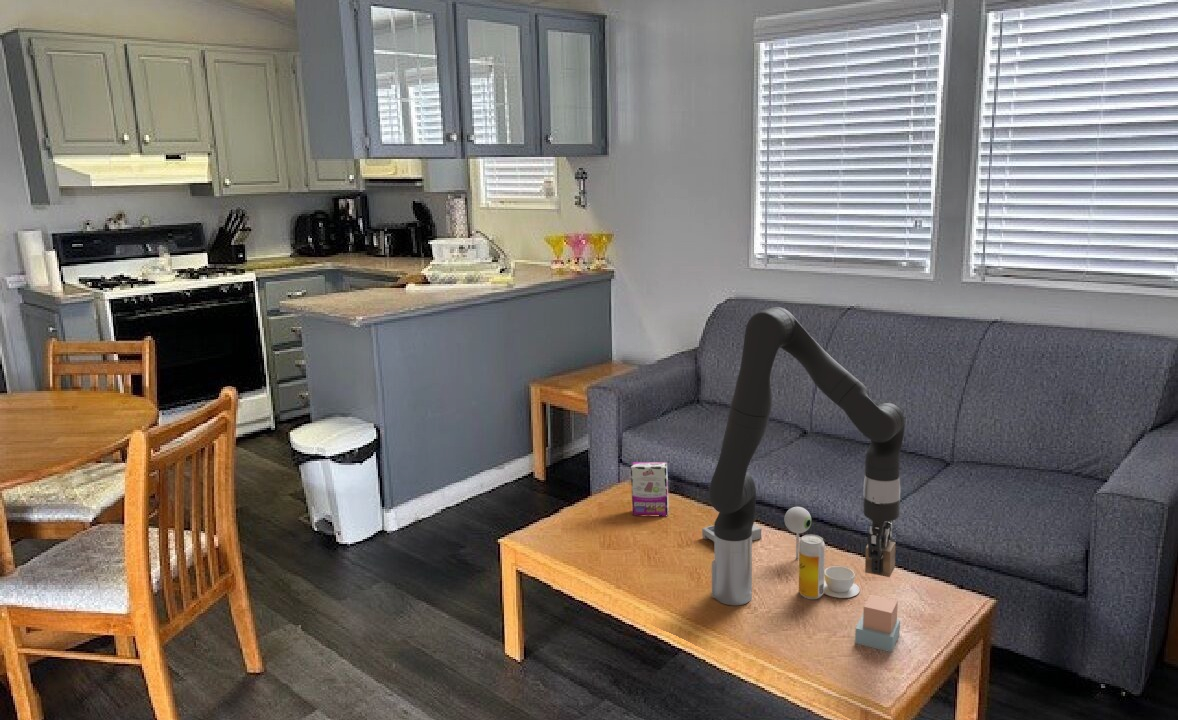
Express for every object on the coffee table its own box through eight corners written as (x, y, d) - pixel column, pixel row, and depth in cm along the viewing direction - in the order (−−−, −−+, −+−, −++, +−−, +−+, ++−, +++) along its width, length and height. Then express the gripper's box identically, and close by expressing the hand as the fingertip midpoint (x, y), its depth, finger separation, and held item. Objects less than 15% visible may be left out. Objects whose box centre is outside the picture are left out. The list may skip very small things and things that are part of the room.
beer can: (805, 585, 212) (805, 531, 209) (827, 592, 208) (828, 537, 205) (794, 595, 207) (795, 540, 204) (817, 602, 204) (818, 546, 200)
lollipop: (800, 567, 222) (801, 515, 218) (778, 558, 227) (779, 507, 224) (815, 558, 226) (817, 507, 223) (794, 550, 232) (794, 500, 228)
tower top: (862, 626, 186) (863, 606, 185) (869, 614, 191) (870, 594, 190) (890, 633, 183) (891, 613, 182) (896, 620, 188) (897, 600, 186)
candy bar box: (669, 510, 262) (667, 461, 258) (667, 517, 257) (666, 467, 253) (633, 509, 264) (632, 461, 260) (632, 516, 259) (630, 466, 255)
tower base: (855, 644, 186) (855, 628, 185) (863, 627, 193) (863, 611, 192) (892, 653, 182) (892, 637, 181) (899, 635, 189) (900, 619, 188)
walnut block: (865, 572, 182) (865, 547, 181) (870, 562, 187) (871, 538, 185) (889, 577, 180) (890, 551, 178) (894, 567, 184) (895, 542, 183)
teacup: (848, 603, 203) (848, 586, 202) (811, 591, 210) (811, 574, 209) (866, 588, 210) (867, 571, 209) (830, 576, 217) (830, 559, 216)
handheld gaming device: (761, 540, 240) (761, 527, 239) (718, 551, 234) (718, 538, 233) (744, 529, 247) (743, 517, 247) (702, 539, 242) (701, 527, 241)
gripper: (871, 481, 187) (870, 550, 191) (855, 504, 175) (854, 577, 179) (906, 486, 183) (904, 557, 187) (892, 510, 172) (890, 585, 175)
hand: (880, 566), depth 183 cm, fingers closed on walnut block, 5 cm apart
